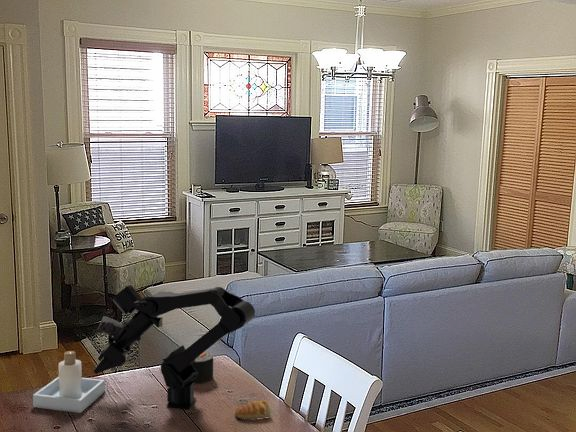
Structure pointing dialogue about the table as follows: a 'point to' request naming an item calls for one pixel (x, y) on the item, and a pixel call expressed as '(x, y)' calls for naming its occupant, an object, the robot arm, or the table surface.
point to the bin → (51, 399)
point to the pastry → (253, 410)
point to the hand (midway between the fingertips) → (96, 366)
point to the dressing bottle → (70, 376)
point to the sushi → (204, 367)
